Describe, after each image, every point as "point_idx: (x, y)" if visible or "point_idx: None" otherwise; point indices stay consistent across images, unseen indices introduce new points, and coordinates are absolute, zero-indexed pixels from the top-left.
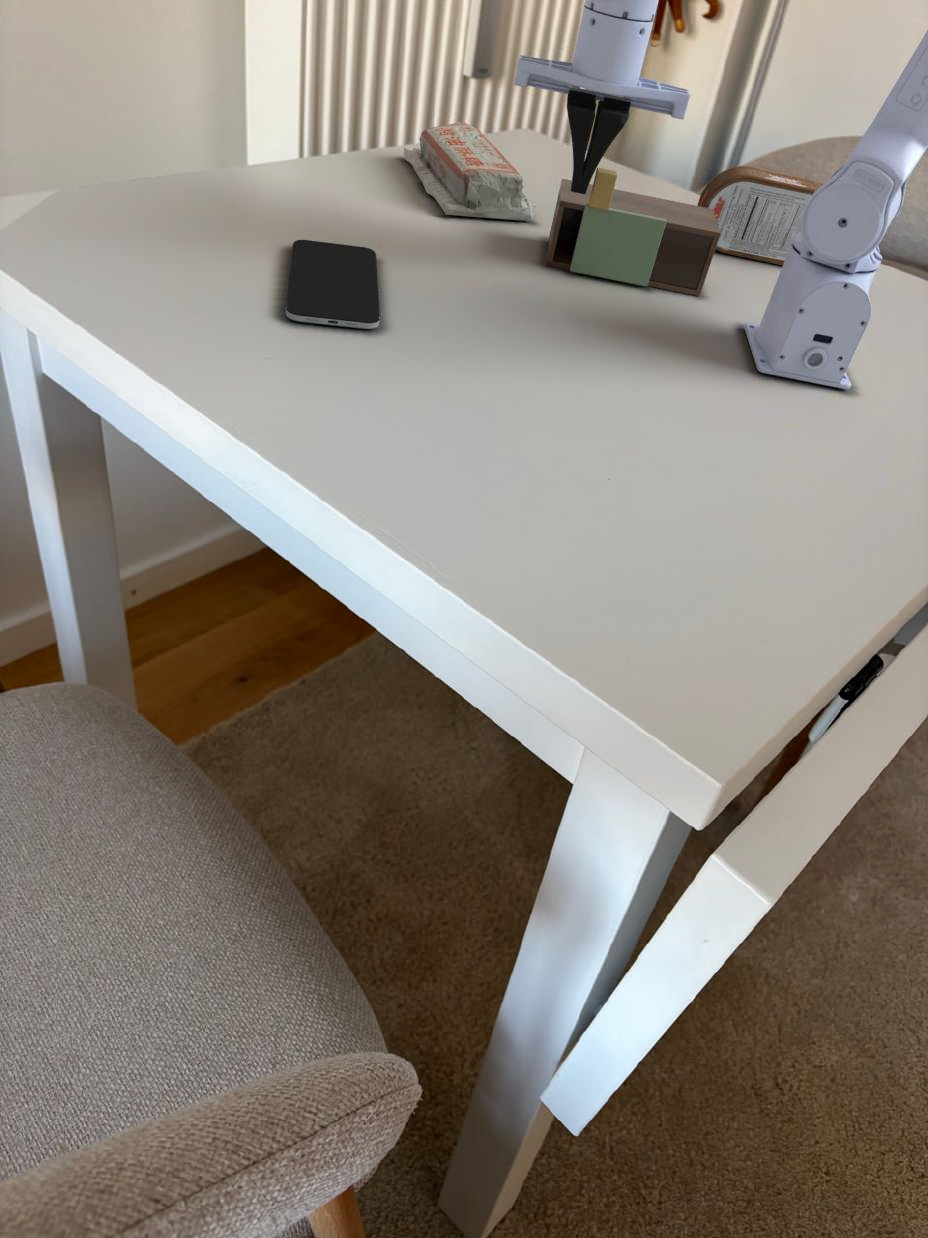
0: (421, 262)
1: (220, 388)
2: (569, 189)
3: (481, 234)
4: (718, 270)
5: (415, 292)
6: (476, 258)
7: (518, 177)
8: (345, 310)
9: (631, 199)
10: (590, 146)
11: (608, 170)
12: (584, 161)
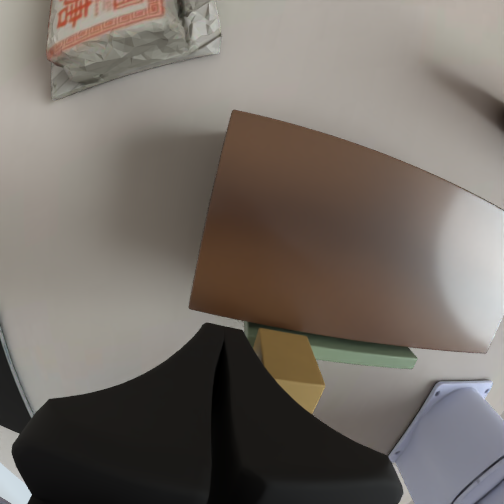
0: (33, 296)
1: (13, 467)
2: (234, 205)
3: (109, 148)
4: (495, 202)
5: (45, 375)
6: (93, 262)
7: (157, 27)
8: (17, 424)
9: (402, 226)
10: (213, 443)
11: (296, 393)
12: (226, 350)
